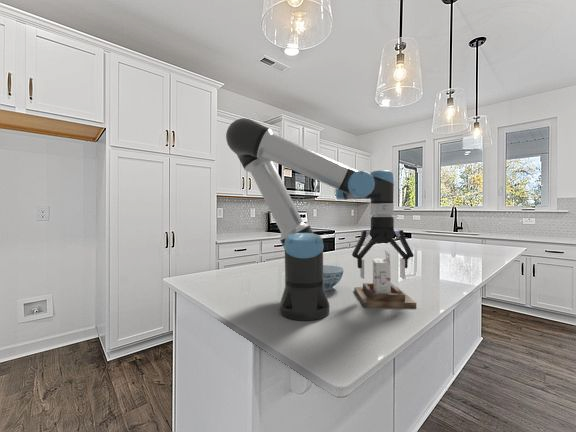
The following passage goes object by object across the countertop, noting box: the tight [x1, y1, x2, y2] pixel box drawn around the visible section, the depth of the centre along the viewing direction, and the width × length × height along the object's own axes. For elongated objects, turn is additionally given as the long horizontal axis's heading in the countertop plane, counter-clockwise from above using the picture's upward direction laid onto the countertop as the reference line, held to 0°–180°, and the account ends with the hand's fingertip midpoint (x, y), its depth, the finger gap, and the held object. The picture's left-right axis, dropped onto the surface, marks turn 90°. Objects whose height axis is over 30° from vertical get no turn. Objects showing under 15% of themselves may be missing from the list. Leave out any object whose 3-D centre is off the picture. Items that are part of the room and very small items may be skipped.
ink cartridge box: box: [372, 250, 392, 294], centre depth 100 cm, size 9×5×15 cm, turn 171°
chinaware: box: [323, 264, 345, 292], centre depth 114 cm, size 15×15×8 cm
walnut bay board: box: [353, 282, 417, 309], centre depth 100 cm, size 16×18×4 cm
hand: (382, 277), depth 100 cm, fingers open, 13 cm apart
